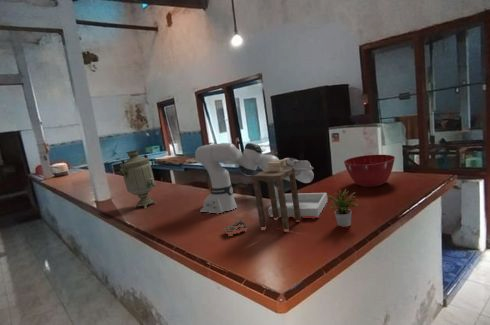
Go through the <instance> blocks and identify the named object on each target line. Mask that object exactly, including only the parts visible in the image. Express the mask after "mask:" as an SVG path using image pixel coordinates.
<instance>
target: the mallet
mask: <svg viewBox="0 0 490 325" xmlns="http://www.w3.org/2000/svg"><path fill="white" fill-rule="evenodd" d="M290 158H291V157H285V158H283V159H279V160H273V161H271V162H269V163H268V169H269V171H282V170H284V169H286V162H285V160H290Z"/></svg>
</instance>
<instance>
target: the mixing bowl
mask: <svg viewBox="0 0 490 325" xmlns="http://www.w3.org/2000/svg"><path fill="white" fill-rule="evenodd" d="M395 159H396V157H395V156H394V155H392V154H367V155H359V156H354V157H350V158H347V159H345V160H344V161H343V164H344V166H345V169H346V171H347V172H348V175H349V176H350V178H351V179H352V182H354V183H355V184H356V185H359V186H360V187H364V188H374V187H375V188H376V187H379V186H383V185H384V184H385V183H386V182H387V181H388V180H389V178H390V176H391V174H392V171H393V168H394V164H395Z"/></svg>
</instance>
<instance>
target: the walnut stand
mask: <svg viewBox="0 0 490 325" xmlns="http://www.w3.org/2000/svg"><path fill="white" fill-rule="evenodd" d="M287 176H289V178H290V185H291V189H290V191H291V194H292V200H293V207H294V214H295V218H294V220H300V219H301V220H302V218H301V215H300V208H299V200H298V194H299V192H298V189H297V188H298V186H297V179H296V178H295V170H294V168H286V169H284V170H282V171H269V169H266V170H262V171H260V172H258V173H257V172H256V173H255V175H253V176H252V182H253V189H254V195H255V201H256V208H257V214H258V215H257V216H258V221H259V227H265V226H266V227H267V223H266V222H267V221H266V216H265V210H264V202H263V197H262V191H261V190H262V189H261V184H260V181H267V185H268V191H269V199H270V204H271V205H270V206H272V213H273V218H277V217H279V215H278V208H277V202H276V200H277V197H278V198H279V204H280V210H281V217H282V218H281V222H282V223H281V224H282V230H283V229H290V223H289V218H288V215H287V208H286V201H285V194H286V193H285V191H284V187H283V179H284V178H285V177H287ZM273 180H276V183H277V188H276V187H275V186H274V181H273ZM275 188H276V189H275ZM275 190H276V191H277V195H278V196H276V191H275ZM273 218H272V219H273Z"/></svg>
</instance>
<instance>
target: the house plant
mask: <svg viewBox="0 0 490 325" xmlns="http://www.w3.org/2000/svg"><path fill="white" fill-rule="evenodd" d="M349 191H350V190H347V188H345V189H344V190H343V192H342V189H341V188H339V195H338V193H337V192H335V191H334V193H332V192H331V194H332V195H333V194H334V195H335V197H336V198H335V197H334V196H332V195H327V196H324V197H327V198H330V199H331V202H332V203H333V204H335V205H329V206H328V209H329V210H331V209H336V210H335V211H334V216H335V219H336V223H337V226H338V225H339V226H350V225H352V210H351V209H349V208H352V207H353V208H357V206H358V203H356V202H357V199H353V198H357V197H356V196H353V195H354V194H355V193H357V192H353V193H351V194H350V195H349V196H348V197H347V199H346V196H347V194H348V193H349ZM355 201H356V202H355ZM353 202H354V203H353ZM339 226H338V227H339ZM350 227H351V226H350Z"/></svg>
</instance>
